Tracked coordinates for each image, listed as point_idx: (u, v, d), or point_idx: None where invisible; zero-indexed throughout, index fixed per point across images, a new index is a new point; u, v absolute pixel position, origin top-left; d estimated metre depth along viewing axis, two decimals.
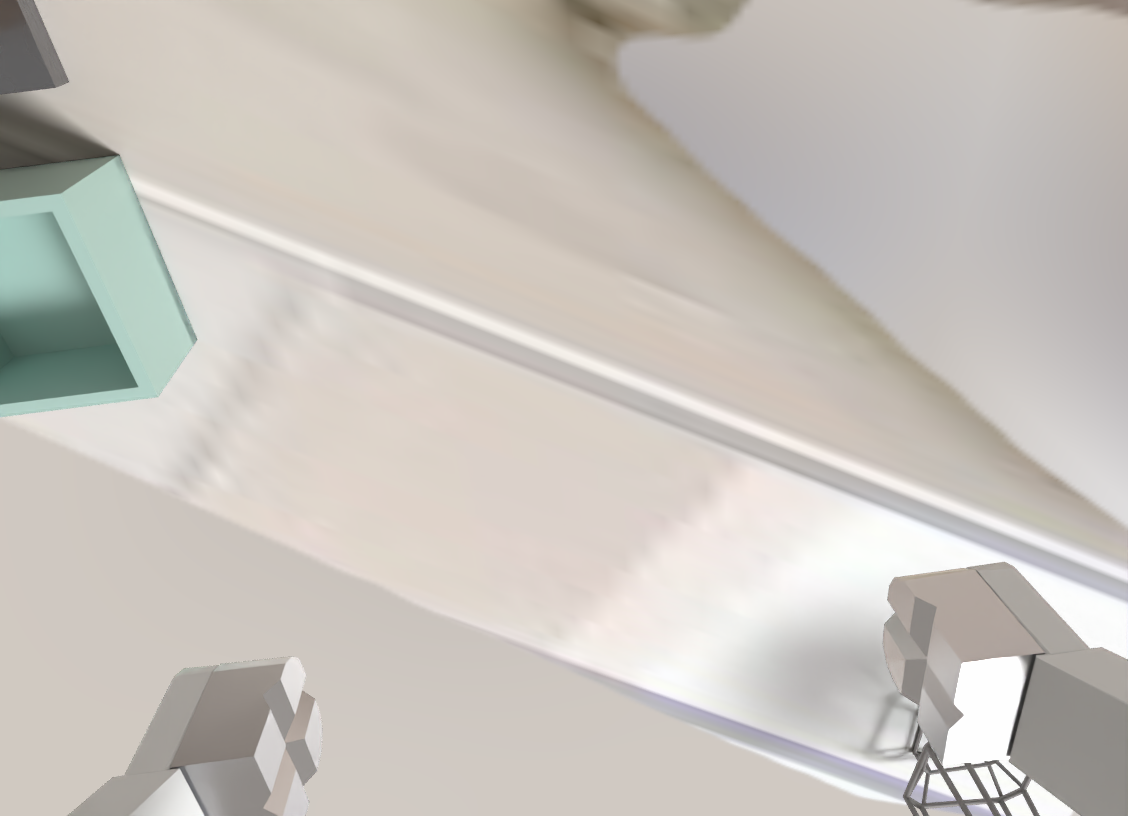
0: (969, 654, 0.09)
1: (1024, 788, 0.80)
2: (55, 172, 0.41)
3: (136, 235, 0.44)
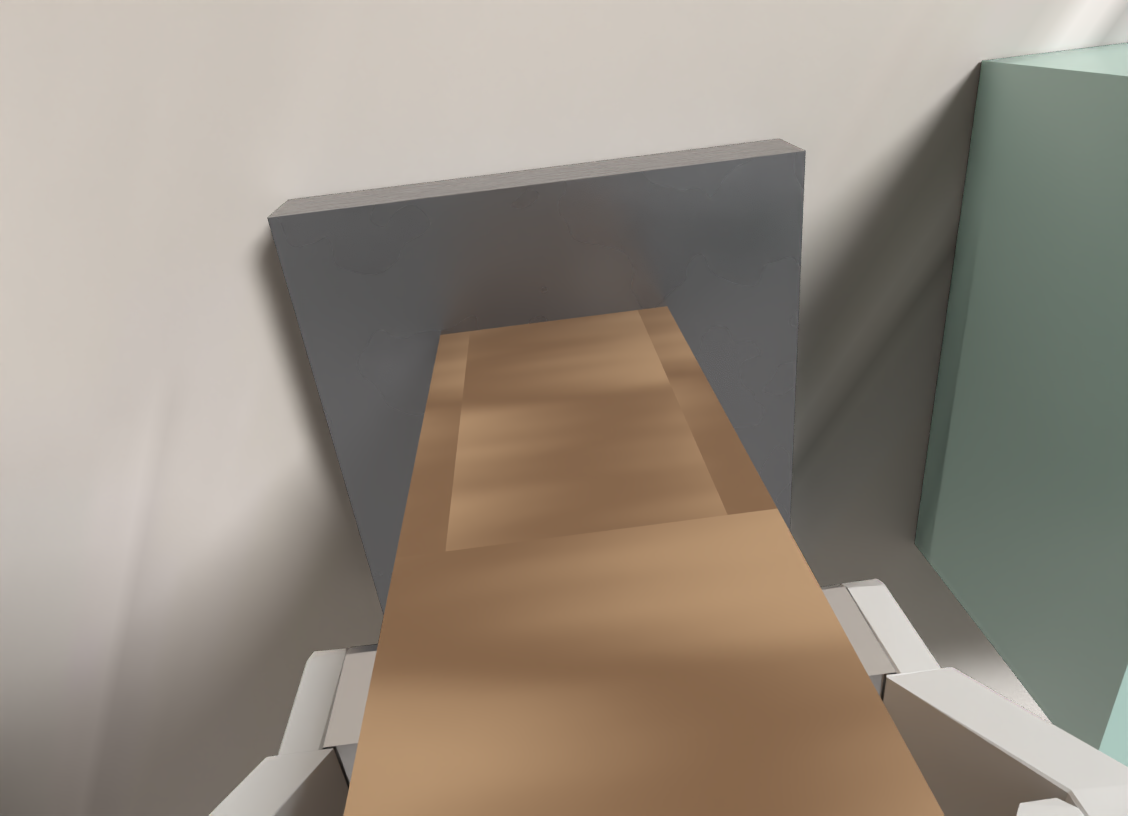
0: None
1: None
2: (1032, 216, 0.14)
3: None
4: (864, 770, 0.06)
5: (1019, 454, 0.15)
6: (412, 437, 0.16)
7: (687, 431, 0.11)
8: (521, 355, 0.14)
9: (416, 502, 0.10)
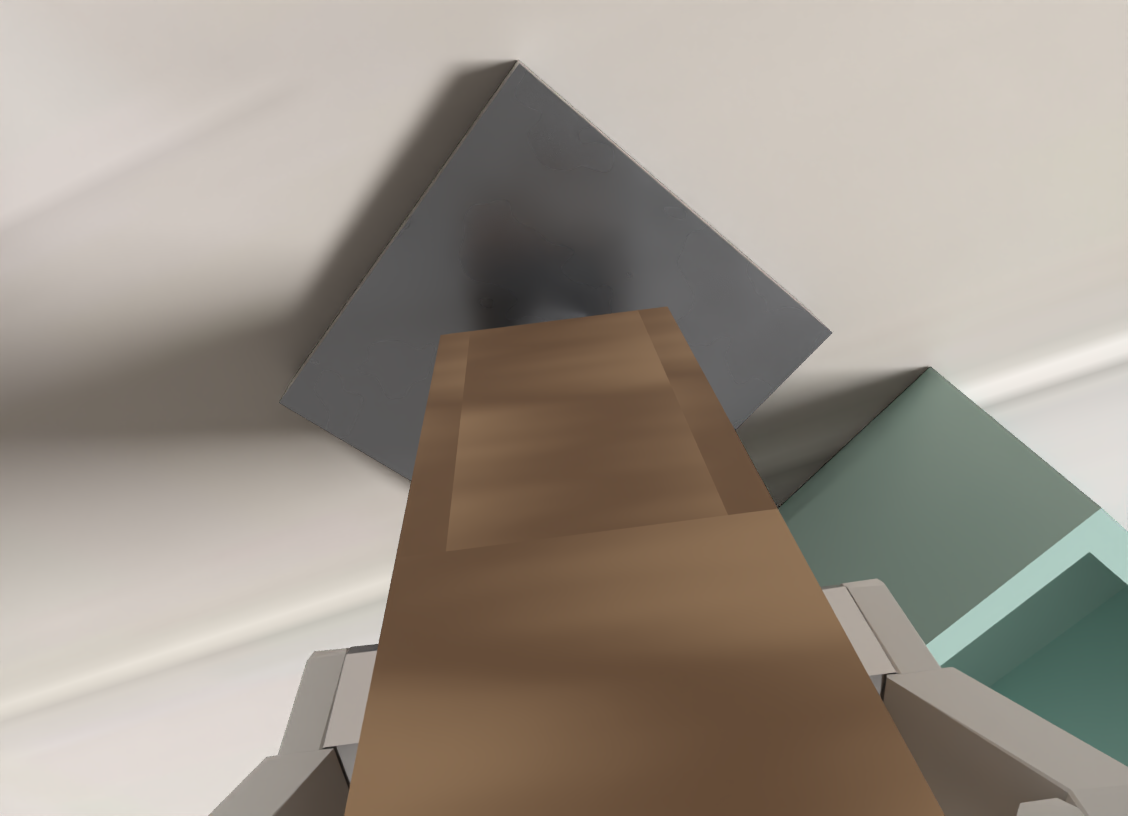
0: None
1: None
2: (901, 470, 0.20)
3: None
4: (864, 770, 0.06)
5: None
6: (450, 289, 0.18)
7: (687, 431, 0.11)
8: (521, 355, 0.14)
9: (416, 502, 0.10)
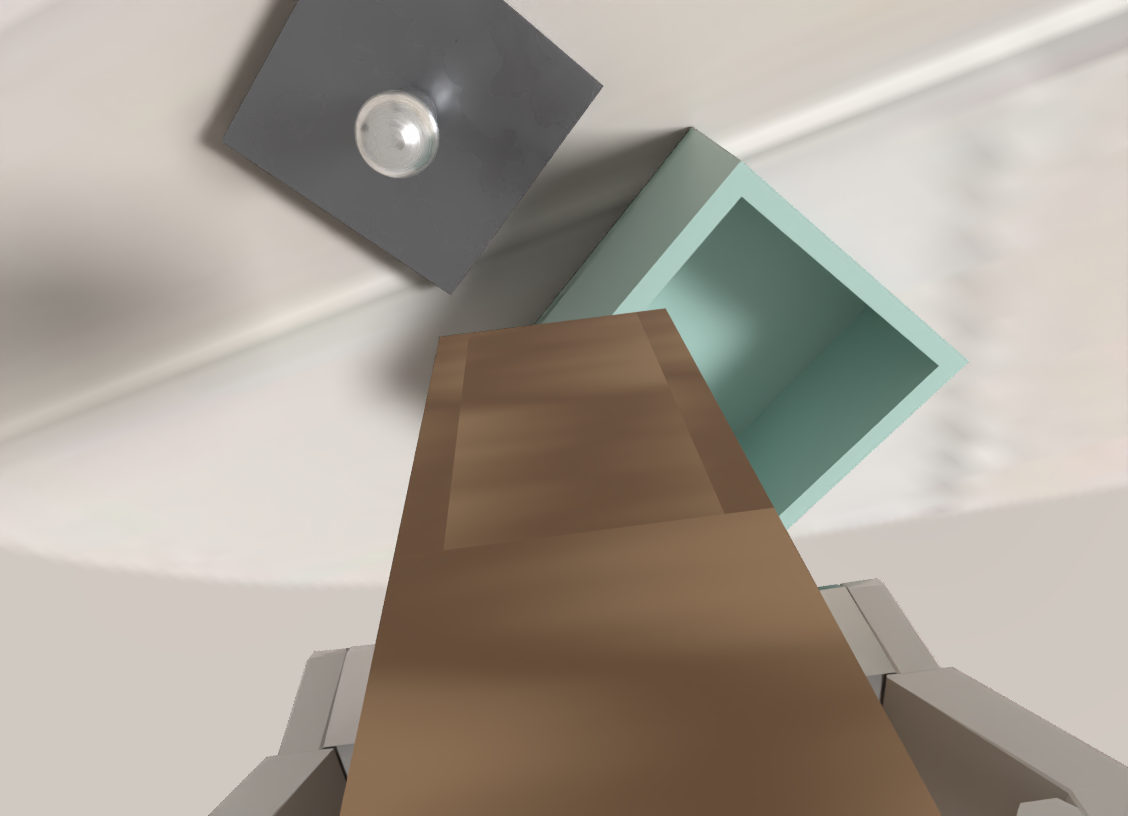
0: None
1: None
2: (662, 191, 0.29)
3: None
4: (859, 765, 0.06)
5: (589, 292, 0.30)
6: (332, 51, 0.27)
7: (685, 431, 0.11)
8: (520, 356, 0.14)
9: (414, 501, 0.10)
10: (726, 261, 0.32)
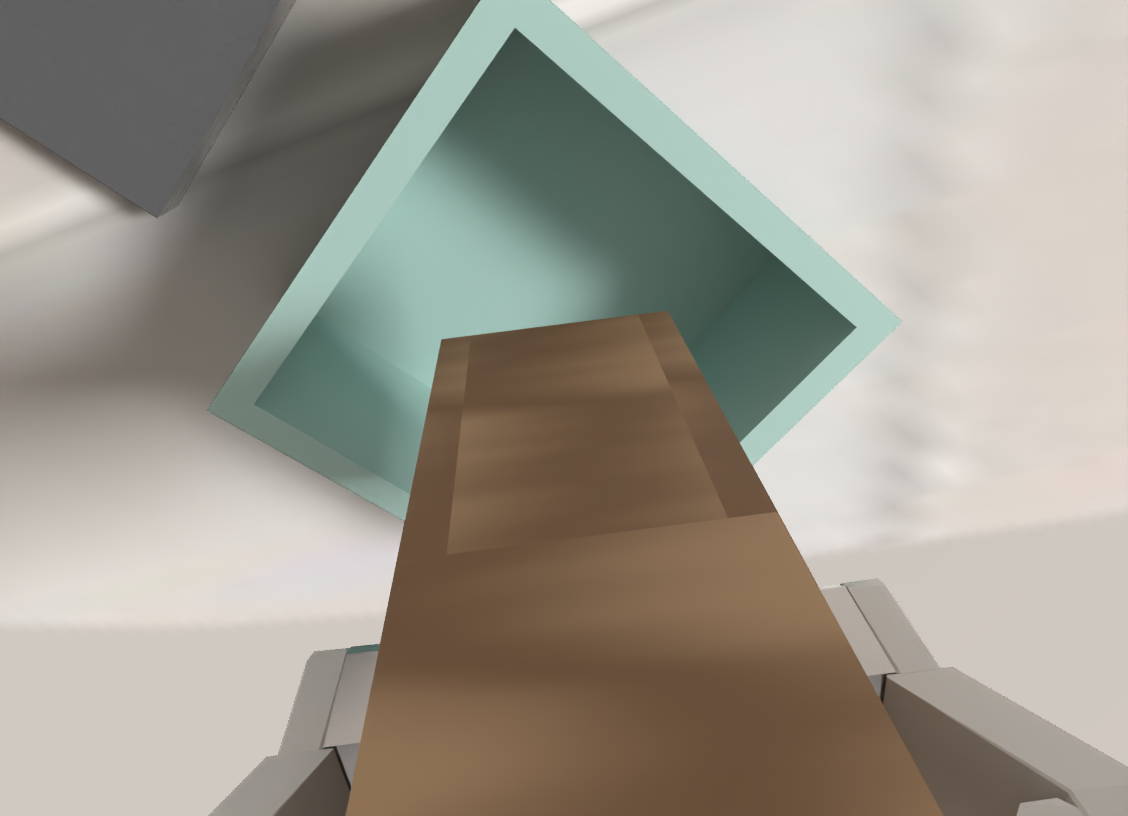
0: None
1: None
2: None
3: None
4: (864, 771, 0.06)
5: None
6: None
7: (687, 435, 0.11)
8: (522, 359, 0.14)
9: (417, 505, 0.10)
10: (567, 181, 0.22)
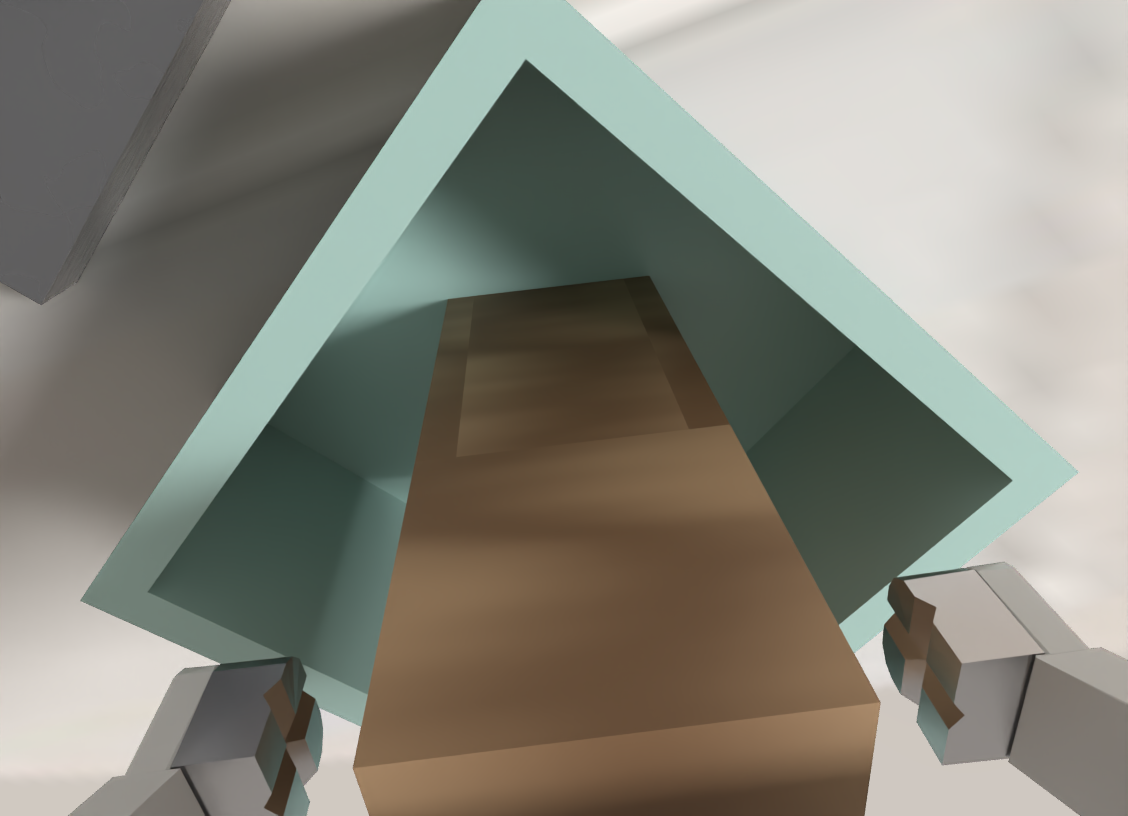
0: (968, 654, 0.09)
1: None
2: None
3: None
4: (777, 588, 0.08)
5: None
6: None
7: (660, 370, 0.13)
8: (519, 314, 0.16)
9: (430, 423, 0.12)
10: (592, 252, 0.17)
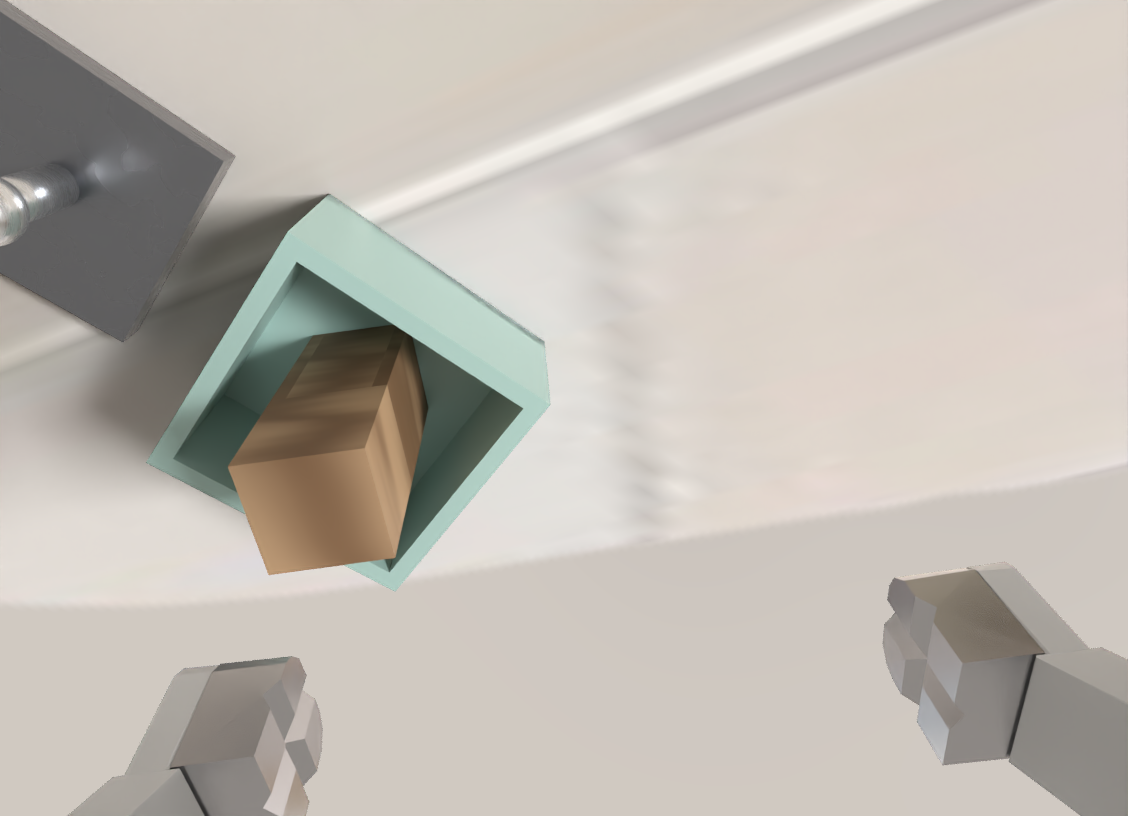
0: (969, 654, 0.09)
1: None
2: None
3: (403, 259, 0.33)
4: (360, 428, 0.27)
5: None
6: None
7: (378, 366, 0.31)
8: (340, 342, 0.34)
9: (281, 387, 0.31)
10: None
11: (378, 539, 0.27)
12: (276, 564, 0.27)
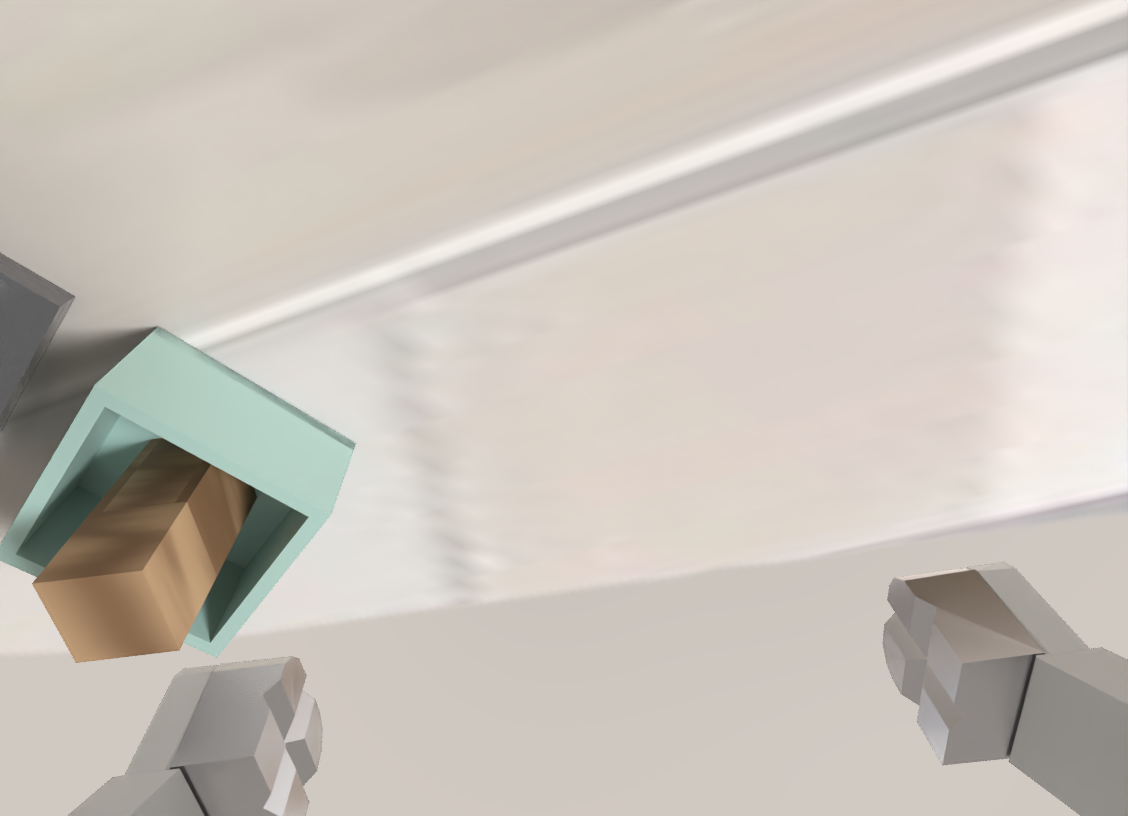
0: (969, 654, 0.09)
1: None
2: None
3: (219, 383, 0.40)
4: (147, 548, 0.33)
5: None
6: None
7: (189, 479, 0.38)
8: (169, 449, 0.41)
9: (104, 499, 0.37)
10: None
11: (163, 636, 0.33)
12: (81, 655, 0.34)
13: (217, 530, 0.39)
